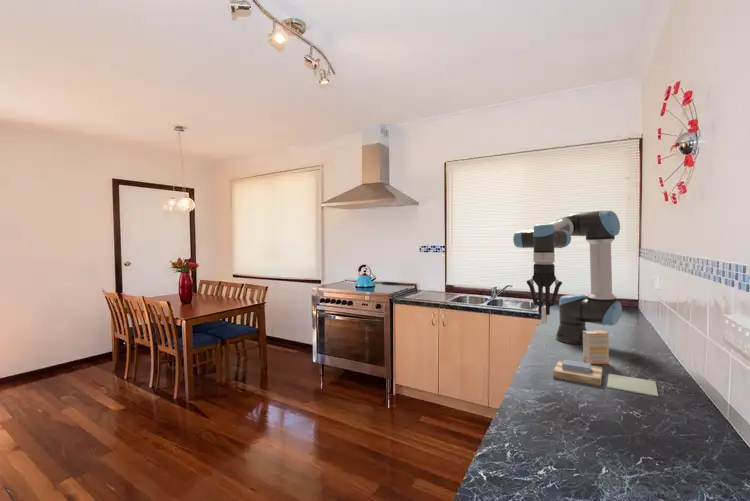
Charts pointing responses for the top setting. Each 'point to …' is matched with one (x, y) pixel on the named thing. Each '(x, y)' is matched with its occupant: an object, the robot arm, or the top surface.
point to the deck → (579, 375)
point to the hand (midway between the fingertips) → (544, 322)
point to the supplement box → (595, 347)
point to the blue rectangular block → (576, 366)
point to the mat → (632, 384)
